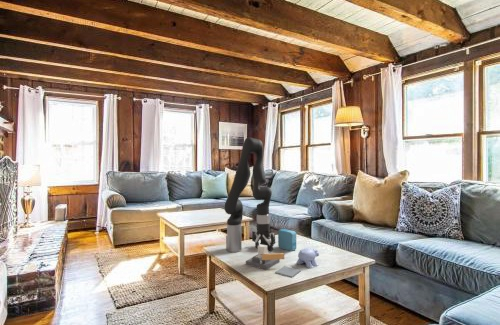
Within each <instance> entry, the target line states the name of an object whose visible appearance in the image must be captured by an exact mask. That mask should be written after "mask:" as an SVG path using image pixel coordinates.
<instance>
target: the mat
mask: <svg viewBox="0 0 500 325" xmlns="http://www.w3.org/2000/svg"><path fill="white" fill-rule="evenodd" d="M300 272H302V269H298V268H294V267H291V266H286V265H284V266H282V267H281V268H278V269H277V270H276V271H275V272H274V273H275V274H278V275H282V276H284V277H288V278H294V277H295V276H296V275H298V274H299V273H300Z"/></svg>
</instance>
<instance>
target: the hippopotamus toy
mask: <svg viewBox="0 0 500 325" xmlns="http://www.w3.org/2000/svg"><path fill="white" fill-rule="evenodd" d="M297 255H298V259H297V260H296V264H297V265H302V264H305V266H306V268H308V269H313V268H315V267H318V266H319V264H318V263H317V261H316V257H319V256H320V252H319V251H318V250H317V249H315V248H309V247H308V248H302V249H300V250H299V252H298V254H297Z"/></svg>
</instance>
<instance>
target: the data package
mask: <svg viewBox="0 0 500 325" xmlns="http://www.w3.org/2000/svg"><path fill="white" fill-rule="evenodd" d="M277 236H278V237H277V246H278V247H279V248H280V249H281V250H282V249H283V250H286V251H288V252H289V251H290V252H292V251H294V250H297V232H296V231H294V230H290V229H287V228H281V229H279V230H278V231H277Z"/></svg>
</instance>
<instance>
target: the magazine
mask: <svg viewBox="0 0 500 325" xmlns="http://www.w3.org/2000/svg"><path fill="white" fill-rule="evenodd" d="M271 229H272V227H271V226H270V231H269V232H270V233H272V230H271ZM269 237H270V236H269ZM270 239H271V237H270ZM261 244H262V245H267V250H268V251H269V248H268V245H269V244H268V243H267V242H266V240H260V242H259V245H261ZM274 245H275V244H273V245H272V251H273V249H274Z"/></svg>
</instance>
